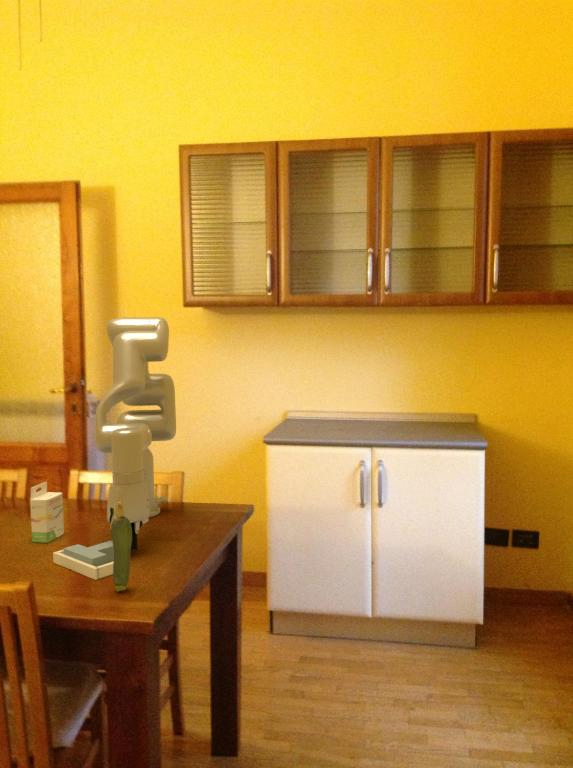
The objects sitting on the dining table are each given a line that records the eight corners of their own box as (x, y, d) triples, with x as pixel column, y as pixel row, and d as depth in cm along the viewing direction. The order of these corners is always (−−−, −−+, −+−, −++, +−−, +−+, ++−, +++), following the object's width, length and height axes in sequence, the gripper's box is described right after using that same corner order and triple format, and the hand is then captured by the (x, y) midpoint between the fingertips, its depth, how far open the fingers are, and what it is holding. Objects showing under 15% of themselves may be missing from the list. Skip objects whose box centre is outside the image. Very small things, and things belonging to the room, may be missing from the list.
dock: (79, 555, 173) (78, 545, 173) (121, 571, 162) (121, 560, 161) (53, 562, 168) (53, 552, 168) (95, 579, 156) (95, 569, 156)
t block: (106, 551, 176) (105, 536, 176) (135, 561, 168) (134, 545, 168) (64, 564, 167) (63, 548, 166) (92, 575, 159) (91, 558, 159)
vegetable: (115, 586, 152) (111, 497, 150) (135, 585, 152) (132, 496, 151) (111, 594, 148) (108, 502, 146) (132, 593, 148) (129, 501, 146)
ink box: (48, 543, 183) (45, 488, 182) (31, 542, 184) (28, 488, 183) (65, 533, 192) (62, 481, 190) (48, 532, 193) (46, 480, 191)
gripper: (143, 470, 181) (146, 539, 182) (93, 480, 170) (96, 553, 171) (161, 474, 176) (163, 544, 177) (111, 485, 165) (114, 560, 166)
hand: (130, 549), depth 174 cm, fingers closed
